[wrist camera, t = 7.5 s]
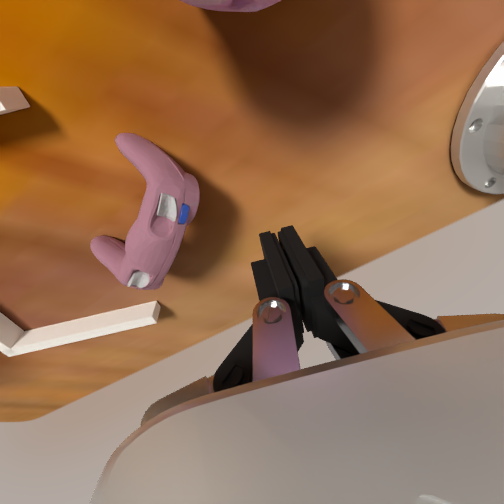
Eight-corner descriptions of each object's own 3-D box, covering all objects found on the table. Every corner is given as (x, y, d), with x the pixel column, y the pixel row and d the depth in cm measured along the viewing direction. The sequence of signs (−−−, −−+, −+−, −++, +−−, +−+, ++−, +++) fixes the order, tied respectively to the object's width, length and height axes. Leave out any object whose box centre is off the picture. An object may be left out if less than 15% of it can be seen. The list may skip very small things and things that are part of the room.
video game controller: (146, 247, 22) (167, 307, 18) (87, 243, 19) (97, 315, 15) (184, 146, 18) (224, 197, 14) (115, 119, 15) (141, 175, 11)
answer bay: (17, 86, 13) (-10, 86, 12) (160, 307, 24) (156, 323, 23) (-226, 150, 14) (-285, 159, 12) (22, 339, 25) (8, 356, 23)
